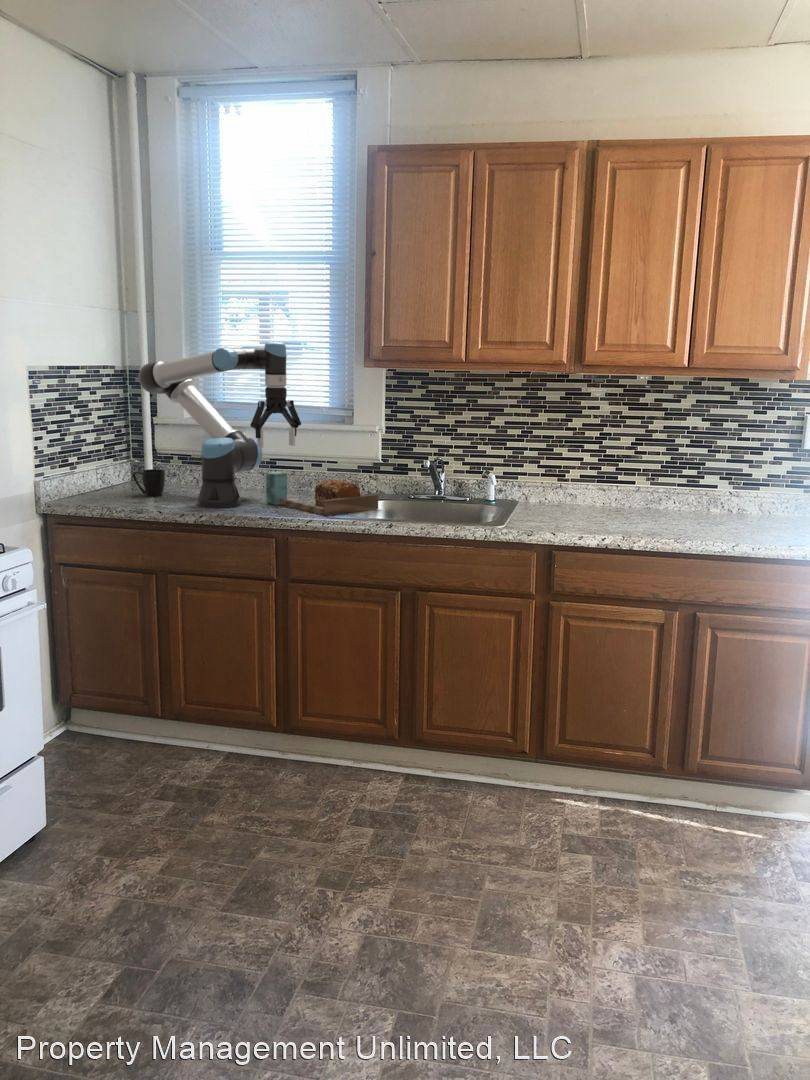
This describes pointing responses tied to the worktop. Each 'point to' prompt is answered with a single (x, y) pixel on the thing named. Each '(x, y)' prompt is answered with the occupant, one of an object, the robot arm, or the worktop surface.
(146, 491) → the mug
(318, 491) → the bread
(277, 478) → the sled
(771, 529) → the worktop surface
